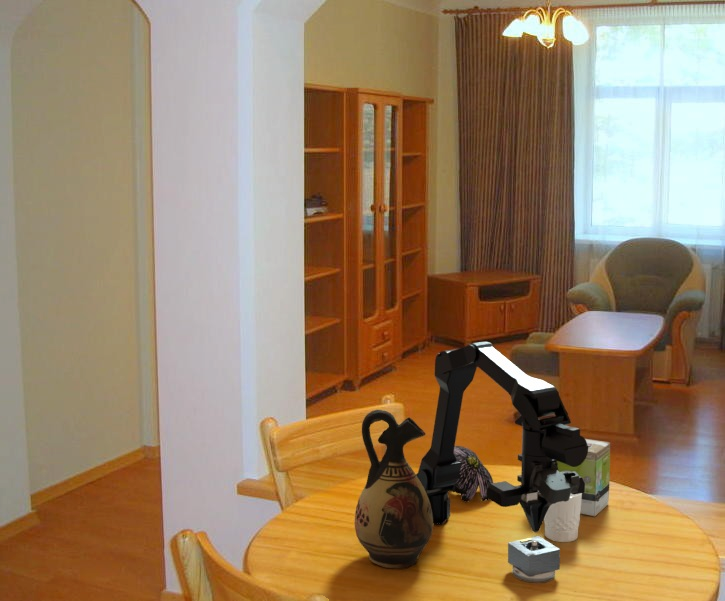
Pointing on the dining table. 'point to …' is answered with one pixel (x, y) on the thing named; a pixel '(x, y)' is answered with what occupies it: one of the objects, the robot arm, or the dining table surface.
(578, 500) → the white cup
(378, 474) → the ceramic jug
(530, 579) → the hub
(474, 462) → the decorative flower
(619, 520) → the dining table surface
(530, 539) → the grey knob housing box
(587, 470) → the tea box
